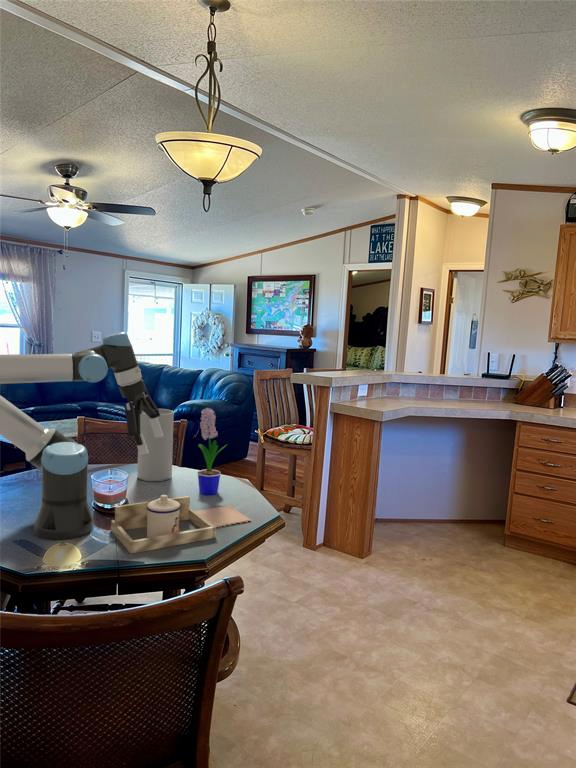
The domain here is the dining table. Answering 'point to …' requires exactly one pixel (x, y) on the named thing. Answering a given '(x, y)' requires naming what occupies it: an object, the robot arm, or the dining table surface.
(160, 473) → the cylinder vase
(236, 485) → the dining table surface
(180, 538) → the frame
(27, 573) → the dining table surface
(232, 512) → the terracotta tile
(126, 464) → the dining table surface
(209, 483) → the hyacinth
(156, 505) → the teacup with lid
